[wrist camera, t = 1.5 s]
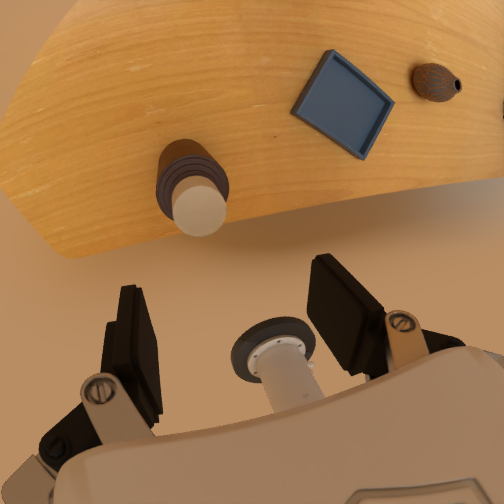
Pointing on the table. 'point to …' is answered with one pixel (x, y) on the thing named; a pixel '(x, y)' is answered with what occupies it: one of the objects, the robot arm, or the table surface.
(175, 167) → the bottle
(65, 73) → the table surface
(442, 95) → the vase
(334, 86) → the tray
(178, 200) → the cap
